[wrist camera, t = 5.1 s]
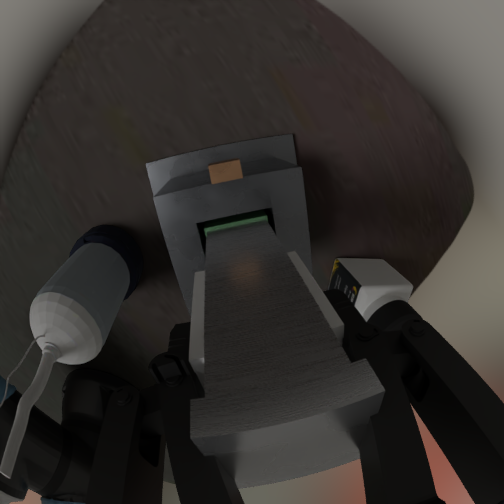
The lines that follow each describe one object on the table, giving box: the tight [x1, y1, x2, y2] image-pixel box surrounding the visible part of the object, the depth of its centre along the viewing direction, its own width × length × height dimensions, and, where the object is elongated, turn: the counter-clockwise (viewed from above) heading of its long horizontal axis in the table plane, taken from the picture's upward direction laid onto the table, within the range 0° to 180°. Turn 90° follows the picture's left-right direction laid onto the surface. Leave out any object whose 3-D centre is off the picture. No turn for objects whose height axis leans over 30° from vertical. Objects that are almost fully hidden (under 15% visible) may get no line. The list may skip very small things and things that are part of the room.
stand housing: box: [146, 134, 313, 317], centre depth 24 cm, size 14×14×9 cm
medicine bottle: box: [328, 258, 423, 331], centre depth 28 cm, size 7×7×12 cm
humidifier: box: [0, 225, 143, 478], centre depth 17 cm, size 8×8×25 cm
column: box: [190, 209, 385, 489], centre depth 16 cm, size 5×5×21 cm
